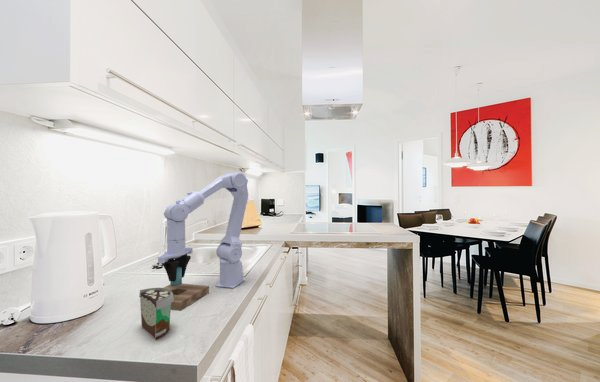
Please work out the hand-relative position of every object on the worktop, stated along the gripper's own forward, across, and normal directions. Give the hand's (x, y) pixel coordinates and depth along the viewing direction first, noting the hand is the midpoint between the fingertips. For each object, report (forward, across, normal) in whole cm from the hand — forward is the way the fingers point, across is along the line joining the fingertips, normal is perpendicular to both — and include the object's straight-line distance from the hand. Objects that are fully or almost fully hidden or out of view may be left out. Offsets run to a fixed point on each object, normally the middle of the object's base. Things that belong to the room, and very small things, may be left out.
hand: (176, 279), depth 94 cm
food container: (+7, +18, +10) cm, 22 cm away
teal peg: (+2, 0, 0) cm, 2 cm away
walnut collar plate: (+7, 0, 0) cm, 7 cm away
